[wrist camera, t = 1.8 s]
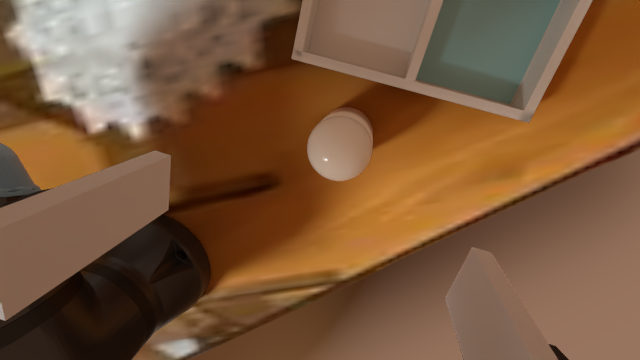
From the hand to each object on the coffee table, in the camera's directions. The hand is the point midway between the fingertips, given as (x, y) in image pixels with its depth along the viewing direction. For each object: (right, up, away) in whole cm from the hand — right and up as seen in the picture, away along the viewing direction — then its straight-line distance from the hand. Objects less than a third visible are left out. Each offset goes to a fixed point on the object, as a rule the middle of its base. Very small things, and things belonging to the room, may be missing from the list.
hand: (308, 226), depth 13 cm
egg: (+3, +7, +18) cm, 20 cm away
